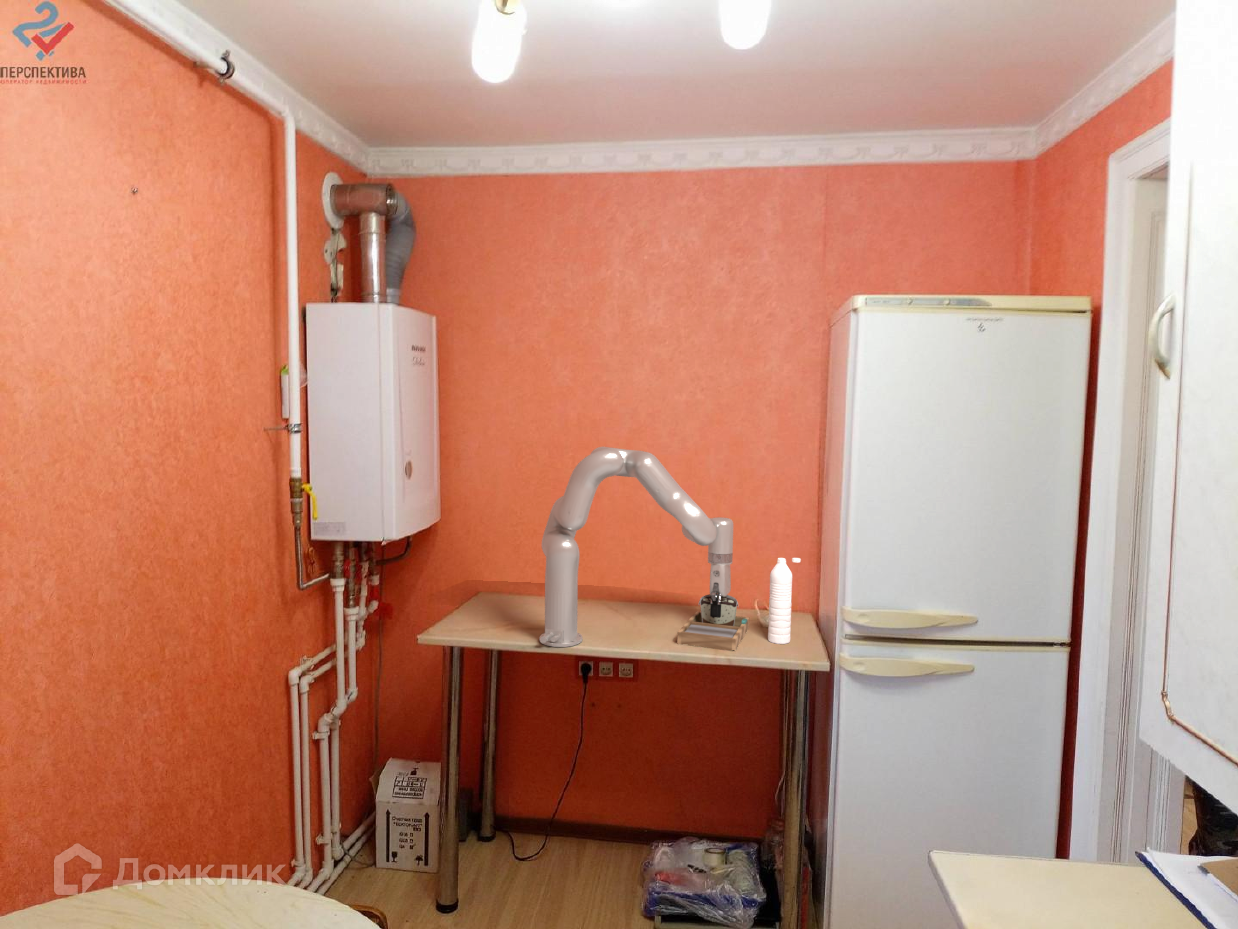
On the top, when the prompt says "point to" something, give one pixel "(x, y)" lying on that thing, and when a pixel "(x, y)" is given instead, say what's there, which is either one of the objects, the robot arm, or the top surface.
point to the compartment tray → (713, 633)
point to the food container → (727, 610)
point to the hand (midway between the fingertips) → (718, 612)
